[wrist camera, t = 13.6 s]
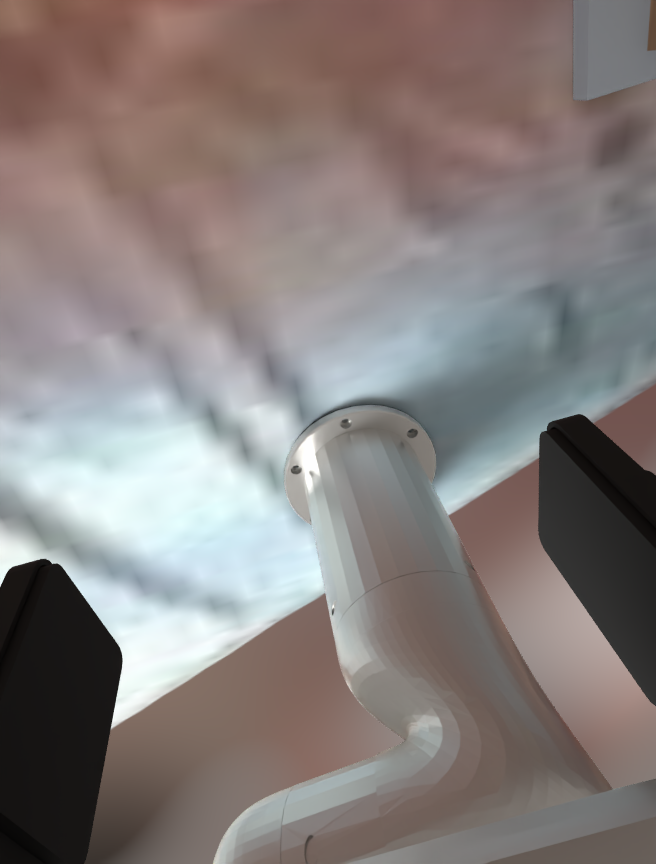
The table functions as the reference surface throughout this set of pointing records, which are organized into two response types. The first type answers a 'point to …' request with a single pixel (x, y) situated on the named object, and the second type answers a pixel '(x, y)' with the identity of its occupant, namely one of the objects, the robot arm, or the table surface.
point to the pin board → (610, 46)
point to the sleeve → (652, 27)
